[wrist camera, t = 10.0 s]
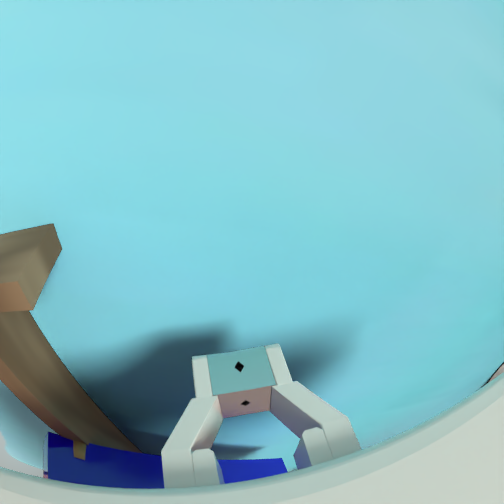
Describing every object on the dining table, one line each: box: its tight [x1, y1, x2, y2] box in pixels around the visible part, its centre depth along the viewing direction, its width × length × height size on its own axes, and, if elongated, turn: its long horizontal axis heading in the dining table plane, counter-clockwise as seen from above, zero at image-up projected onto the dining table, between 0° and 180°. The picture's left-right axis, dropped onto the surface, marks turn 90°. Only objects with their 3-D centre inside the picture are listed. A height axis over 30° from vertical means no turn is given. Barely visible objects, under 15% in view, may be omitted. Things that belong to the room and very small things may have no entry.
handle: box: [0, 224, 142, 460], centre depth 13 cm, size 4×24×4 cm, turn 1°
